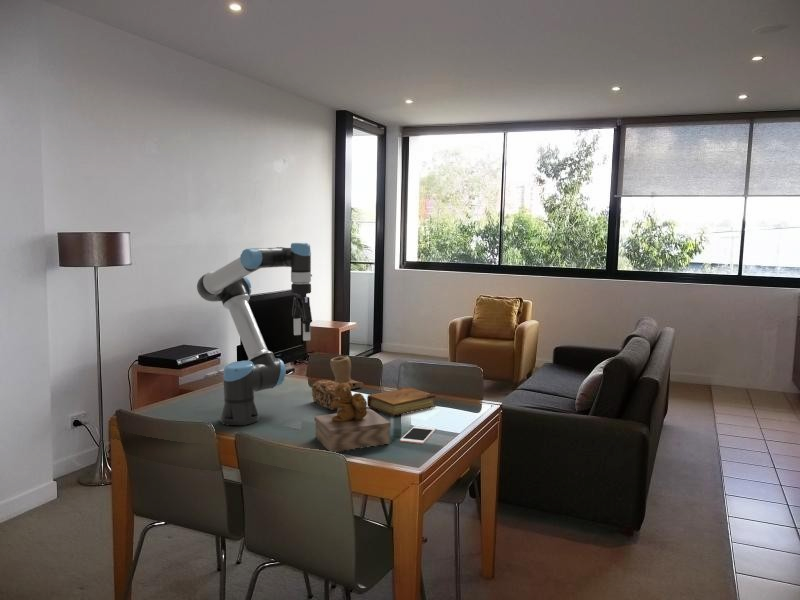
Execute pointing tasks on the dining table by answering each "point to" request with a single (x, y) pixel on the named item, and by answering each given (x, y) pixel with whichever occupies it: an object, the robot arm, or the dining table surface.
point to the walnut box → (352, 431)
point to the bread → (324, 392)
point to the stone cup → (343, 371)
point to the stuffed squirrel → (348, 404)
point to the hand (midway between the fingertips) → (301, 337)
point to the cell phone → (418, 435)
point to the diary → (400, 401)
